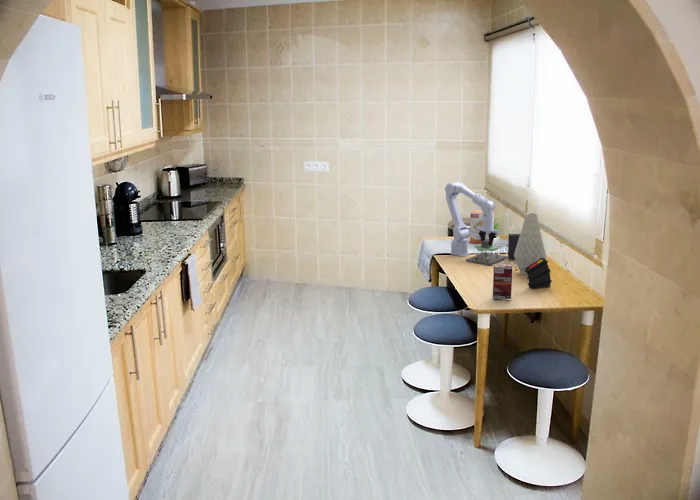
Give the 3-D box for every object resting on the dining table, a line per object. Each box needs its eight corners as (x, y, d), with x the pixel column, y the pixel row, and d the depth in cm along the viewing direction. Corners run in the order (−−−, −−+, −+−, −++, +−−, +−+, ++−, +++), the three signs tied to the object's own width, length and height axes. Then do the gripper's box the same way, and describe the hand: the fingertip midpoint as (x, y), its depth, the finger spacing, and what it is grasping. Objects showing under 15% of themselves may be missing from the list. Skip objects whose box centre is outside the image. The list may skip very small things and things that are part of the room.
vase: (543, 279, 323) (546, 218, 315) (510, 276, 330) (512, 216, 321) (547, 270, 338) (550, 211, 329) (516, 267, 345) (518, 210, 336)
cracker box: (469, 243, 399) (470, 211, 394) (472, 241, 404) (472, 209, 399) (491, 245, 393) (491, 213, 387) (493, 242, 398) (494, 211, 392)
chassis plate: (465, 261, 360) (465, 255, 359) (483, 253, 374) (483, 248, 373) (490, 265, 350) (490, 260, 349) (507, 257, 364) (507, 252, 363)
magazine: (556, 283, 311) (546, 258, 306) (535, 296, 310) (524, 272, 305) (552, 281, 315) (542, 257, 310) (531, 294, 314) (520, 270, 308)
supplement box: (493, 300, 296) (493, 268, 292) (492, 296, 301) (493, 265, 297) (511, 300, 295) (512, 268, 290) (510, 297, 299) (511, 265, 295)
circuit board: (471, 249, 358) (471, 241, 357) (484, 244, 369) (484, 237, 368) (488, 252, 351) (489, 244, 350) (502, 247, 362) (502, 239, 360)
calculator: (526, 258, 362) (527, 233, 358) (528, 260, 358) (529, 235, 354) (507, 258, 363) (508, 233, 359) (508, 260, 359) (509, 235, 355)
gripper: (473, 221, 358) (472, 244, 362) (495, 224, 348) (494, 247, 352) (479, 219, 363) (479, 241, 367) (501, 222, 353) (500, 245, 357)
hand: (487, 244), depth 360 cm, fingers closed on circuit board, 4 cm apart
